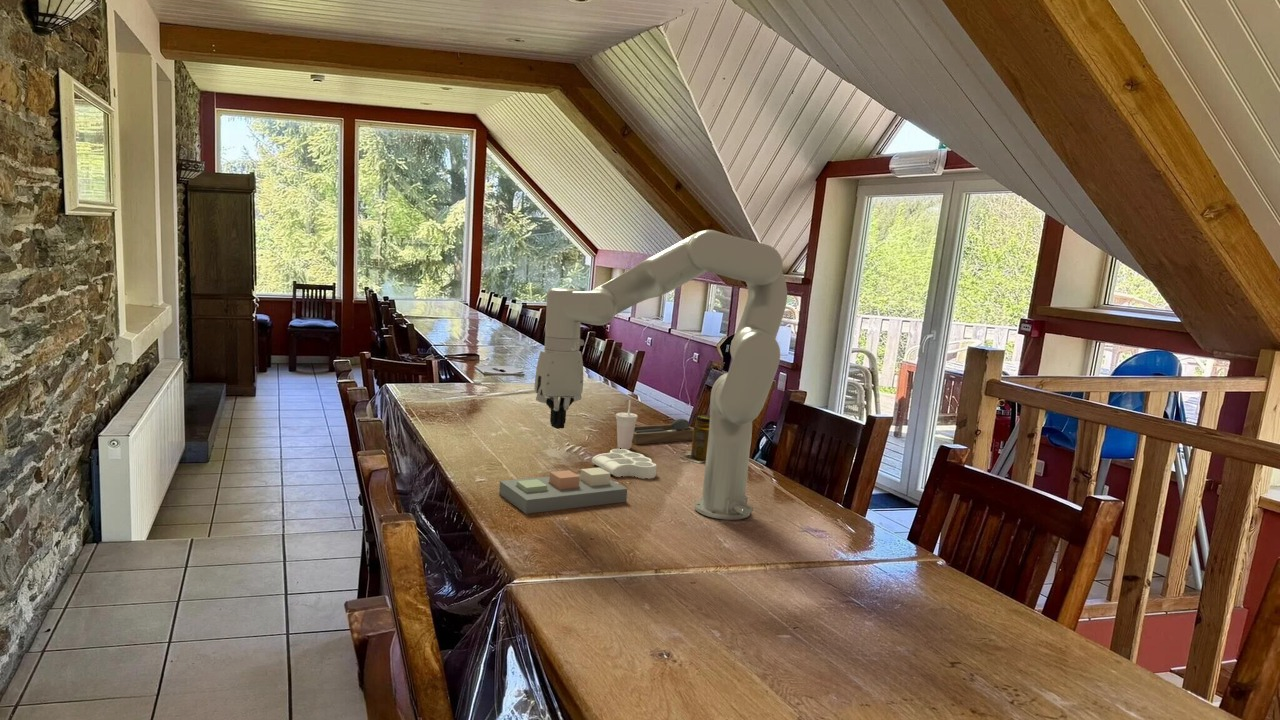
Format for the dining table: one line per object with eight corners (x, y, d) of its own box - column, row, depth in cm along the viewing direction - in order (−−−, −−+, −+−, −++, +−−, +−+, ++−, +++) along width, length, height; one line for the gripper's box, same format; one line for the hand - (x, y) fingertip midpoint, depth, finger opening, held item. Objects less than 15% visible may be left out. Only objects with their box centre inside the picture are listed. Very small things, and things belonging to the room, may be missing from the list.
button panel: (626, 501, 183) (627, 488, 182) (525, 513, 169) (526, 500, 169) (595, 483, 194) (596, 471, 194) (499, 493, 181) (500, 480, 180)
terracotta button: (578, 493, 181) (579, 476, 180) (558, 495, 178) (560, 478, 177) (568, 487, 185) (569, 470, 184) (548, 489, 182) (549, 472, 182)
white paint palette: (585, 462, 213) (633, 459, 221) (618, 482, 198) (668, 478, 206) (586, 450, 213) (634, 447, 221) (620, 469, 198) (669, 465, 205)
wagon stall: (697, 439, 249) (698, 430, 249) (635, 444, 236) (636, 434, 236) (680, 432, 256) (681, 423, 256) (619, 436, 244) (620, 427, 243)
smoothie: (632, 451, 228) (636, 403, 226) (610, 448, 229) (614, 400, 227) (637, 446, 234) (641, 399, 232) (615, 443, 235) (619, 396, 233)
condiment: (718, 460, 227) (722, 418, 225) (698, 463, 221) (702, 421, 219) (699, 453, 232) (703, 413, 230) (679, 457, 226) (683, 415, 224)
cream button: (609, 490, 185) (610, 473, 185) (590, 492, 182) (591, 475, 182) (598, 483, 189) (599, 467, 189) (579, 485, 187) (580, 469, 186)
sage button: (546, 503, 177) (547, 485, 176) (525, 505, 174) (526, 487, 173) (536, 496, 181) (537, 479, 180) (515, 498, 178) (516, 481, 177)
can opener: (680, 435, 253) (682, 416, 252) (690, 439, 249) (692, 419, 248) (630, 439, 242) (632, 419, 241) (640, 443, 238) (641, 422, 237)
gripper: (583, 342, 182) (578, 421, 185) (523, 343, 174) (519, 425, 177) (600, 347, 176) (595, 428, 179) (539, 348, 168) (534, 433, 170)
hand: (557, 427), depth 178 cm, fingers closed
